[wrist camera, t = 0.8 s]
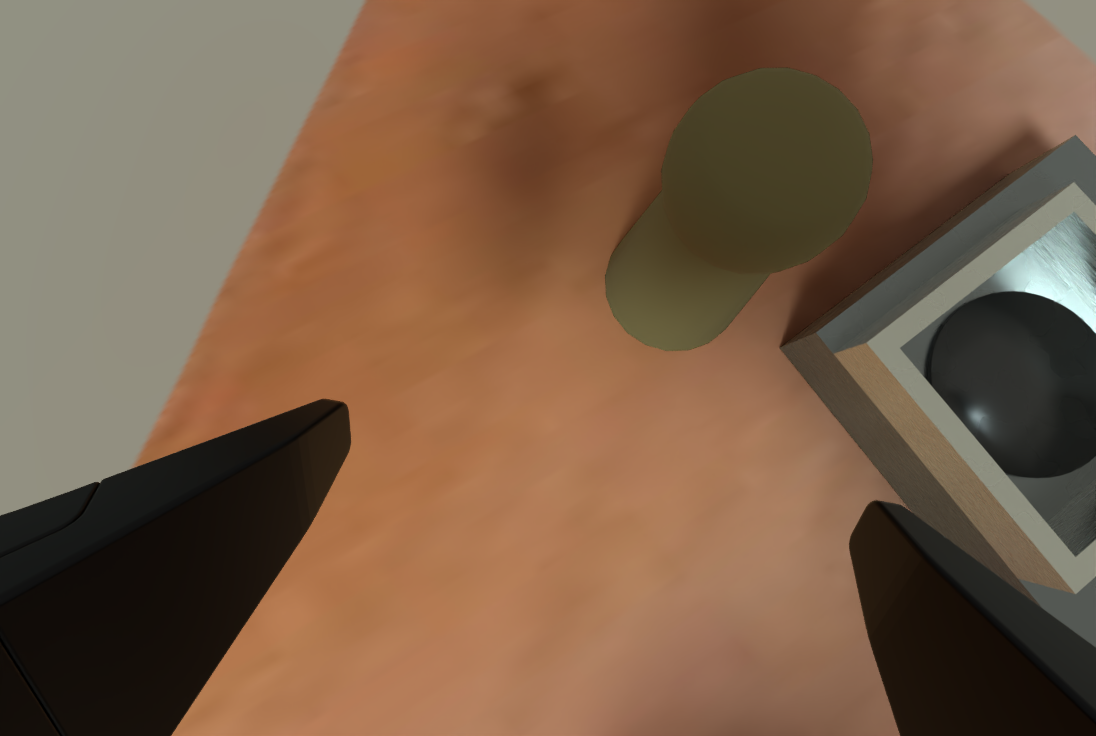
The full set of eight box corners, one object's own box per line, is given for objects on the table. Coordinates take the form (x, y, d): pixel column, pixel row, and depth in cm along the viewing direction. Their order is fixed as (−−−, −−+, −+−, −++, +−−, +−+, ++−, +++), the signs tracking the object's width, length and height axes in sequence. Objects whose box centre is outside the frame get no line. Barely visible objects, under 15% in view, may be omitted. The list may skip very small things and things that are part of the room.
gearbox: (1268, 456, 22) (1477, 458, 17) (1036, 665, 21) (1192, 733, 16) (1009, 173, 24) (1131, 102, 19) (779, 347, 23) (846, 319, 18)
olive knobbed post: (679, 379, 22) (812, 314, 11) (576, 286, 23) (609, 140, 12) (768, 282, 23) (972, 133, 12) (666, 194, 24) (774, -23, 13)
